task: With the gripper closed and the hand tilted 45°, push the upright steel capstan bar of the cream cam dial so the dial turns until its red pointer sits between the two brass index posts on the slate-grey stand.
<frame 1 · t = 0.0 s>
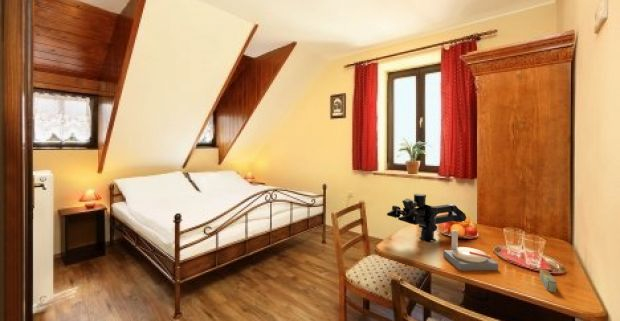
hand: (392, 216, 150), 17 cm above the table, tool horizontal, fingers open, 9 cm apart
level stand: (469, 262, 131), on the table
medication box: (547, 285, 112), on the table
cam dial: (470, 245, 131), point 9 cm above the table, hinge at -40.0°
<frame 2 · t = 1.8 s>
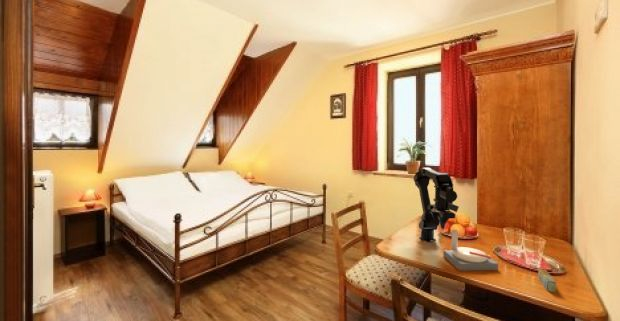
hand: (440, 227, 146), 12 cm above the table, tool pointing down, fingers open, 5 cm apart
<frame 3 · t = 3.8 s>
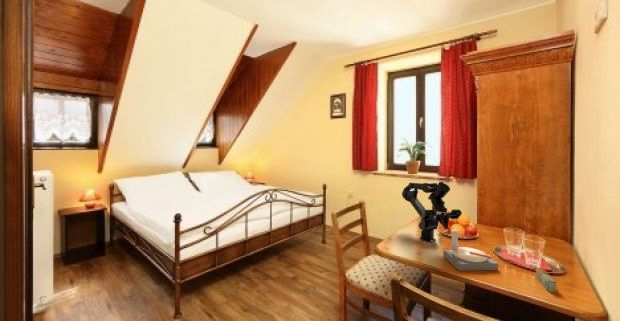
hand: (446, 229, 141), 13 cm above the table, tool tilted 45°, fingers closed
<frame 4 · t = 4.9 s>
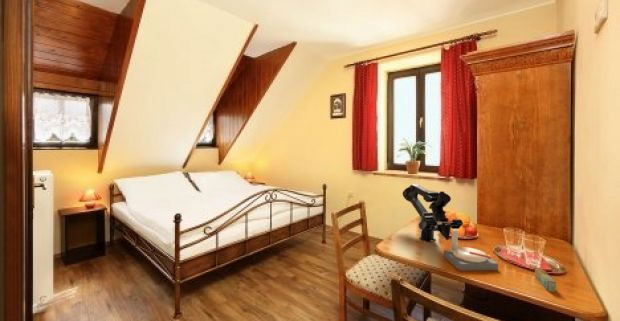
hand: (447, 239, 140), 8 cm above the table, tool tilted 45°, fingers closed
nothing on the table moved.
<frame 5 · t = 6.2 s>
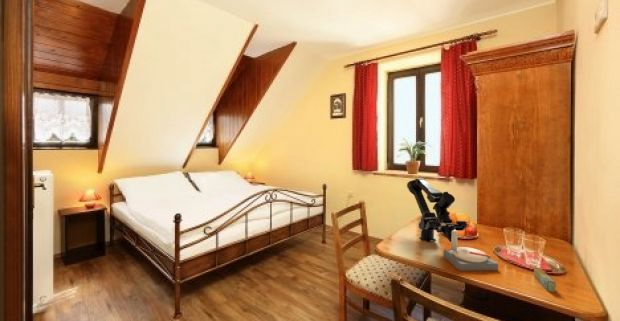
hand: (451, 241, 136), 8 cm above the table, tool tilted 45°, fingers closed, pressing on cam dial
cam dial: (470, 244, 131), point 9 cm above the table, hinge at -32.4°, touching gripper
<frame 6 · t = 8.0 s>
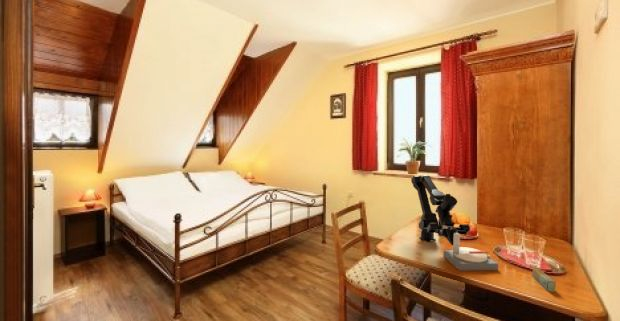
hand: (452, 245, 131), 8 cm above the table, tool tilted 45°, fingers closed, pressing on cam dial
cam dial: (470, 244, 131), point 9 cm above the table, hinge at 2.9°, touching gripper
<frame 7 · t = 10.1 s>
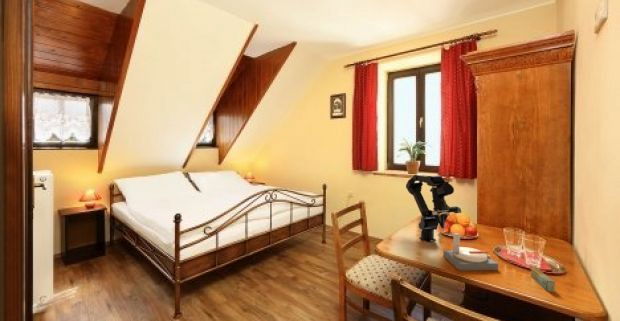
hand: (442, 228, 144), 12 cm above the table, tool tilted 25°, fingers closed
cam dial: (470, 244, 131), point 9 cm above the table, hinge at 3.0°
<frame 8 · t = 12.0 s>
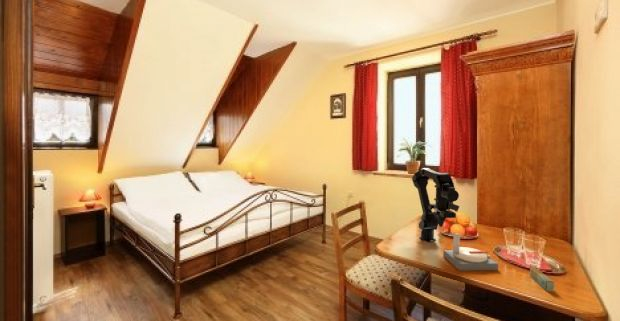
hand: (440, 226, 147), 12 cm above the table, tool pointing down, fingers closed
at the end: cam dial at +3° (first picture: -40°) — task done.
